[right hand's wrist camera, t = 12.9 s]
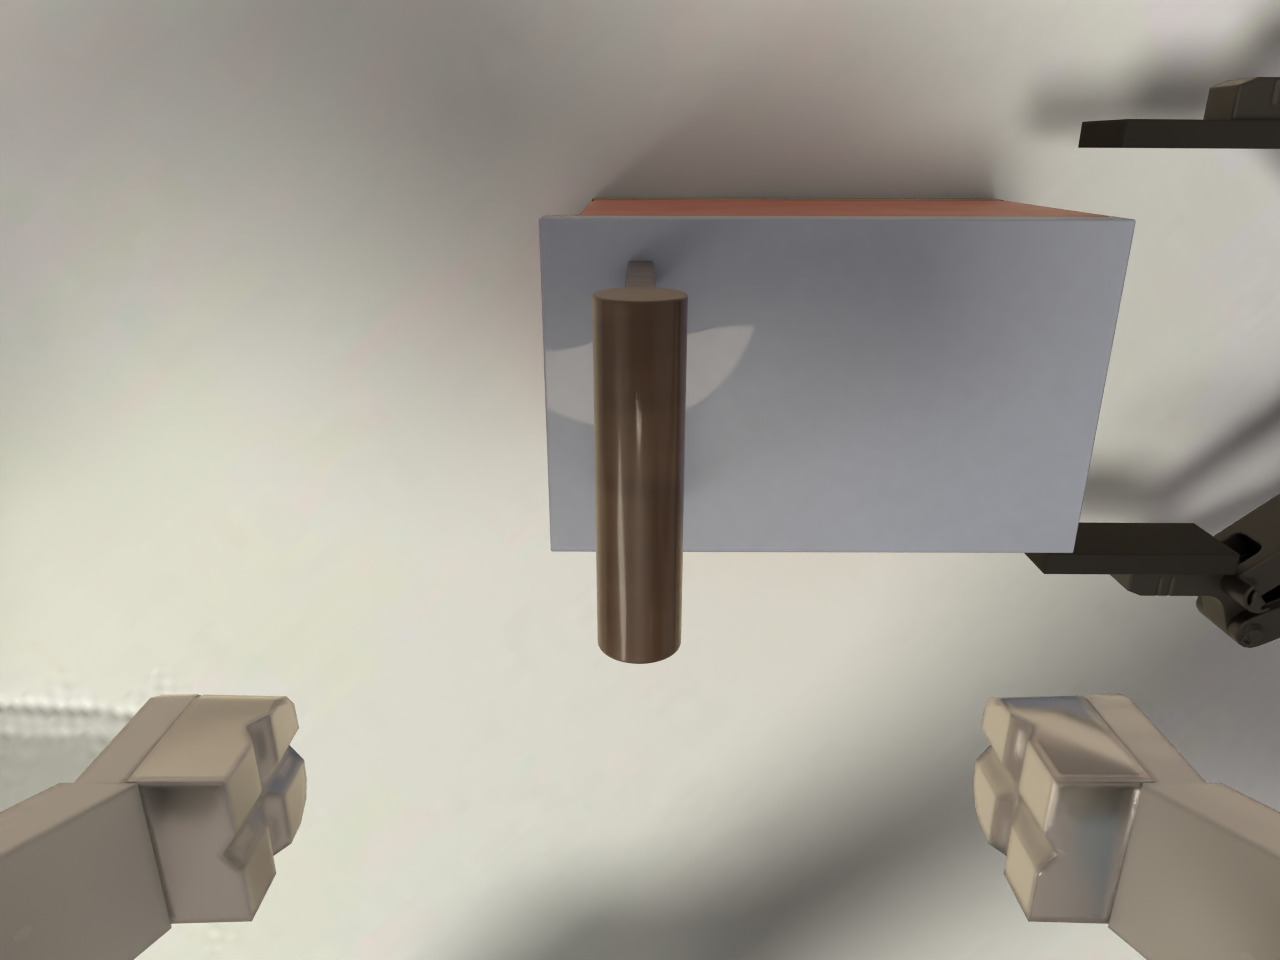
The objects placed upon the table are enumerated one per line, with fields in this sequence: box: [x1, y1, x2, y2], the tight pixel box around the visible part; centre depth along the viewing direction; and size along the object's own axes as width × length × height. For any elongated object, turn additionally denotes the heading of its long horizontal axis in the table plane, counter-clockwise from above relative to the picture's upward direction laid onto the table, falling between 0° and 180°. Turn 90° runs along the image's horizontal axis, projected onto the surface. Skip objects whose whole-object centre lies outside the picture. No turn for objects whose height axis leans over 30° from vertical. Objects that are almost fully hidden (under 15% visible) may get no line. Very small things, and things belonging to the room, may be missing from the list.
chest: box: [580, 198, 1109, 217], centre depth 31 cm, size 15×10×9 cm, turn 90°
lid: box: [539, 215, 1135, 664], centre depth 22 cm, size 16×10×9 cm, turn 90°
